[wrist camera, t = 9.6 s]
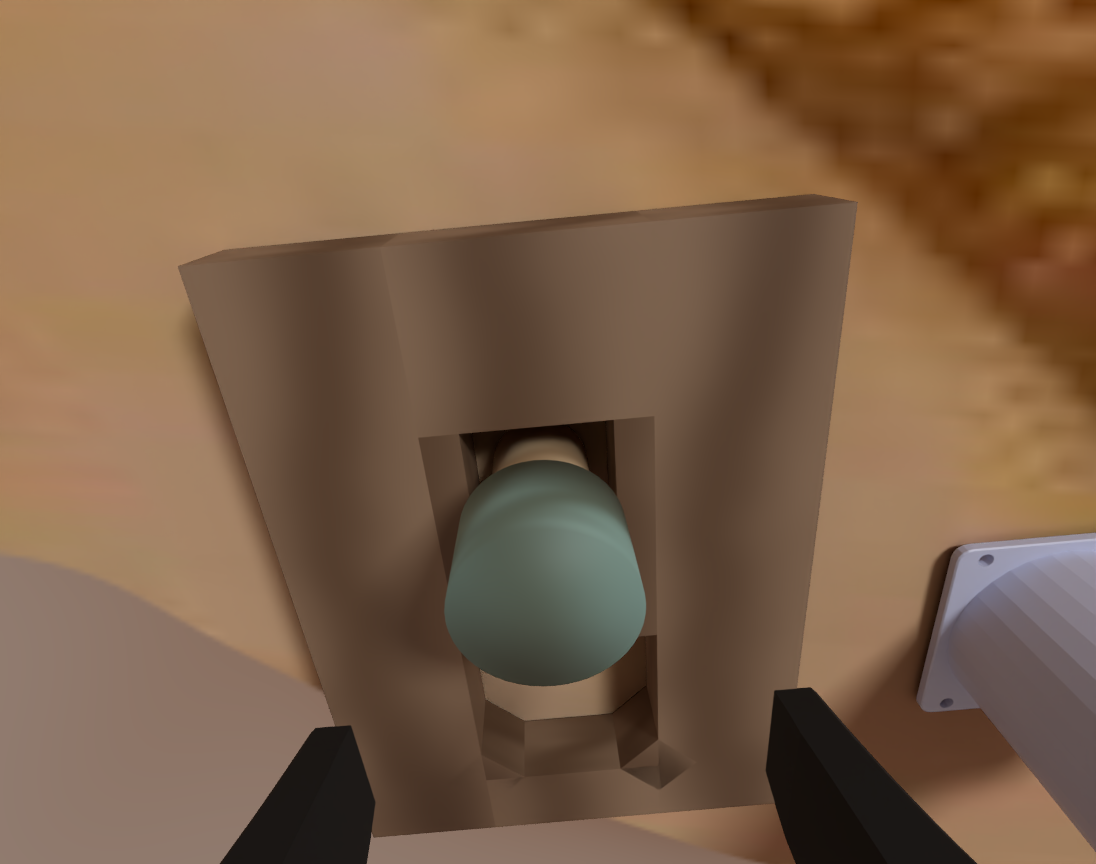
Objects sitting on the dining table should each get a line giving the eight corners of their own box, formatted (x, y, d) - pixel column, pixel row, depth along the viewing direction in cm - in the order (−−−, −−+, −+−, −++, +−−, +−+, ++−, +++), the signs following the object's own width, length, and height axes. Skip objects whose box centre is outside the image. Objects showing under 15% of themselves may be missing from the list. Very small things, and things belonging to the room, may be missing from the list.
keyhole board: (813, 194, 16) (857, 201, 14) (761, 747, 26) (782, 802, 24) (223, 250, 16) (177, 266, 14) (386, 779, 26) (373, 837, 24)
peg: (604, 391, 19) (643, 519, 12) (612, 512, 21) (648, 677, 14) (462, 405, 19) (427, 540, 12) (482, 524, 21) (461, 694, 14)
